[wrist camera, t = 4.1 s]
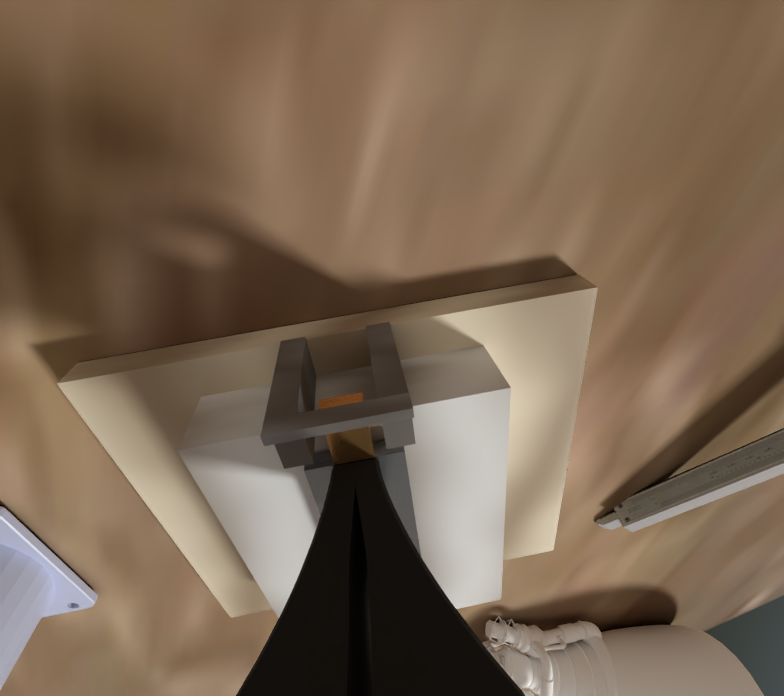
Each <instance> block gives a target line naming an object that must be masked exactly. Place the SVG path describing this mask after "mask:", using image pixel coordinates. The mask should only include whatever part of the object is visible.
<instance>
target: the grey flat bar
mask: <svg viewBox="0 0 784 696" xmlns="http://www.w3.org/2000/svg"><path fill="white" fill-rule="evenodd" d="M361 401H364V399H363V394H362V392H360V393H355V394H350V395H344V396H339V397H334V398H328V399H323V400H319V409H324V408H329V407H334V406H340V405H345V404H350V403H356V402H361ZM325 436H326V439H327V442H328V446H329V449H330V451H325V452H320V453H315V454H314V463H313V464H308V465H304V473H305V475H306V478H307V481H308V483H309V486H310V489H311V491H312V494H313V497H314V499H315V502H316V505H317V507H318V510H319V513H320V515H321V513H322V509H323V506H324V502H325V499H326V495H327V491H328V487H329V482H330V478H331V472H332V469H333V468H334V467H335V466H340V465H346V464H351V463H356V462H361V461H366V460H371V459H376V460H378V461H379V463H380V468H381V473H382V477H383V480H384V483H385V486H386V488H387V491H388V493H389V496H390V498H391V501H392V503H393V505H394V507H395V509H396V511H397V513H398V515H399V517H400V519H401V522H402V524H403V526H404V527H405V529H406V531H407V533H408V535H409V537H410V538H411V540H412V542H413V544H414V545H415V547H416V549H417V551H418V552H419V554H420V556H421V552H420V545H419V539H418V533H417V526H416V520H415V513H414V507H413V500H412V494H411V488H410V481H409V475H408V468H407V462H406V456H405V450H404V446H401V447H396V448H391V449H387V448H386V442H385V440H382V441H377V442H373V440H372V436H371V431H370V427H369V426H368V427H363V428H358V429H352V430H347V431H342V432H337V433H331V434H326V435H325Z"/></svg>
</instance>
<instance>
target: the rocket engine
mask: <svg viewBox="0 0 784 696" xmlns="http://www.w3.org/2000/svg"><path fill="white" fill-rule="evenodd" d="M498 618H499V619H500V622H499V623H497V622H496V620H497V619H498ZM497 619H496V620H495V622H494V621H491V620H489V621H488V622H487V623H486V627H485V632H486V636H487V637H489V639H490V641H491V640H492V638H496V639H497V640H498V643H497V642H496V641H494V640H492V641H494V642H496V643H491V642H489V641H484V642H483V643H482V644H483V645H484V646H485V647H486V649H487V650H488V651H489V652H490V654H491V655H492V656H493V657H494V658H495V660H496V661H497V662H498V663H499V664H500V666H501V667H502V668H503V669H504V670H505V672H506V673H507V674H508V675H509V676H510V677H511V679H512V680H513V681H514V682H515V683H516V684H517V685H518V687H519V688H525V687H527V688H530V689H531V690H532V691H533V692H534V693H536V694H537V695H538V696H763V693H762V692H761V690H760V689H759V687H758V686H757V684H756V682H755V681H754V679H753V678H752V676H751V675H750V673H749V672H748V671H747V669H746V668H745V667H744V666H743V665H742V663H741V662H740V661H739V660H738V658H736V656H735V655H734V654H733V653H732V652H730V651H729V650H728V649H727V648H726V647H725V646H724V645H723V644H722V643H721V642H719V641H718V640H716V639H715V638H713V637H712V636H710V635H709V634H707V633H705V632H702V631H700V630H698V629H695V628H692V627H687V626H681V625H649V626H638V627H628V628H621V629H615V630H609V631H604V632H601V631H600V630H599V628H598V627H597V626H596V625H595V624H593V623H591V622H587V621H580V620H578V621H577V622H576V623H573V624H572V623H568V624H563V625H558V626H557V628H555V629H551V630H546V631H542V630H541V629H539V628H538V627H537V626H536V625H532V626H526V625H524V624H518V623H516V624H515V623H514V622H513V620H512V619H511V620H512V624H513V623H514V624H513V625H512V626H513V627H511V626H509V624H510V622H511V620H508V621H510V622H509V624H508V626H507V624H506V622H507V621H504V620H501V618H500V616H498V617H497ZM491 637H492V638H491ZM506 642H510V644H511V643H512V644H511V647H512V648H513V647H514V648H517V649H518V650H519V651H517V650H513V649H509V648H508V647H503V648H501V649H499V650H498V651H495V649H494V647H493V646H495V647H497V646H500V645H501V644H502V645H503V644H506ZM556 643H560V644H559V645H551V644H556ZM506 645H508V644H506ZM512 645H513V646H512ZM548 645H551V646H548ZM509 646H510V645H509ZM525 652H526V653H527V654H529V655H530V656H528V655H526V654H525ZM522 691H523V693H524V694H525V696H535V695H534V694H533V693H531V692H530V691H529V690H528V689H523V690H522Z"/></svg>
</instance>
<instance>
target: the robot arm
mask: <svg viewBox="0 0 784 696" xmlns="http://www.w3.org/2000/svg"><path fill="white" fill-rule="evenodd" d="M97 598H98V596H97V594H96V593H95V592H94V591H93V590H92V589H91V588H90V587H89V586H88V585H87V584H85V583H84V582H83V581H82V580H81V579H80V578H79V577H78V576H77V575H76V574H75V573H74V572H73V571H72V570H71V569H70V568H68V567H67V566H66V565H65V564H64V563H63V562H62V561H61V560H60V559H59V558H58V557H57V556H56V555H55V554H54V553H52V552H51V551H50V550H49V549H48V548H47V547H46V546H45V545H44V544H43V543H42V542H41V541H40V540H39V539H38V538H37V537H35V536H34V535H33V534H32V533H31V532H30V531H29V530H28V529H27V528H26V527H25V526H24V525H23V524H22V523H21V522H20V521H18V520H17V519H16V518H15V517H14V516H13V515H12V514H11V513H10V512H9V511H8V510H7V509H5V508H4V507H2V506H0V690H1V688H2V686H3V685H4V683H5V681H6V679H7V677H8V676H9V674H10V672H11V670H12V669H13V667H14V665H15V663H16V662H17V660H18V658H19V656H20V655H21V653H22V651H23V649H24V647H25V646H26V644H27V642H28V640H29V639H30V637H31V635H32V633H33V632H34V630H35V628H36V626H37V625H38V623H39V621H40V619H41V618H42V617H47V616H52V615H56V614H61V613H66V612H71V611H76V610H81V609H86V608H90V607H92V606H93V605H95V602H96V600H97ZM236 696H525V694H524V693H523V691H522V690H521V689H520V688H519V687H518V685H517V684H516V683H515V682H514V681H513V680H512V679H511V677H510V676H509V675H508V674H507V673H506V672H505V670H504V669H503V668H502V667H501V666H500V664H499V663H498V662H497V661H496V660H495V658H494V657H493V656H492V655H491V654H490V652H489V651H488V650H487V649H486V647H485V646H484V645H483V644H482V642H481V641H480V640H479V639H478V637H477V636H476V635H475V634H474V632H473V631H472V630H471V628H470V627H469V626H468V624H467V623H466V621H465V620H464V619H463V617H462V616H461V615H460V613H459V612H458V611H457V609H456V608H455V607H454V605H453V604H452V603H451V601H450V600H449V599H448V597H447V596H446V594H445V593H444V591H443V590H442V588H441V587H440V585H439V584H438V582H437V581H436V579H435V578H434V576H433V575H432V573H431V572H430V570H429V569H428V567H427V566H426V564H425V562H424V561H423V559H422V557H421V556H420V554H419V552H418V551H417V549H416V547H415V545H414V544H413V542H412V540H411V538H410V537H409V535H408V533H407V531H406V529H405V527H404V526H403V524H402V522H401V519H400V517H399V515H398V513H397V511H396V509H395V507H394V505H393V503H392V501H391V498H390V496H389V493H388V491H387V488H386V486H385V483H384V480H383V477H382V473H381V468H380V463H379V461H378V460H376V459H371V460H366V461H361V462H356V463H351V464H346V465H340V466H335V467H334V468H333V469H332V472H331V478H330V482H329V487H328V491H327V495H326V499H325V502H324V506H323V509H322V513H321V516H320V519H319V522H318V525H317V528H316V531H315V534H314V537H313V540H312V543H311V545H310V548H309V550H308V553H307V555H306V558H305V561H304V563H303V566H302V568H301V571H300V573H299V576H298V578H297V580H296V583H295V585H294V587H293V589H292V592H291V594H290V596H289V598H288V600H287V602H286V605H285V607H284V609H283V611H282V613H281V615H280V617H279V619H278V621H277V623H276V625H275V627H274V629H273V631H272V633H271V635H270V637H269V639H268V641H267V642H266V644H265V646H264V648H263V650H262V652H261V654H260V655H259V657H258V659H257V661H256V662H255V664H254V666H253V668H252V669H251V671H250V673H249V675H248V676H247V678H246V680H245V681H244V683H243V685H242V687H241V688H240V690H239V692H238V693H237V695H236Z"/></svg>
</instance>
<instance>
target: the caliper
mask: <svg viewBox="0 0 784 696" xmlns="http://www.w3.org/2000/svg"><path fill="white" fill-rule="evenodd" d="M783 473H784V428H783V429H781V430H779V431H776V432H774V433H772V434H770V435H767V436H765V437H763V438H761V439H758V440H756V441H754V442H751V443H749V444H747V445H745V446H742V447H740V448H738V449H736V450H733V451H731V452H729V453H726V454H724V455H722V456H719V457H717V458H715V459H713V460H710V461H708V462H706V463H703V464H701V465H699V466H696V467H694V468H692V469H689V470H687V471H685V472H682V473H680V474H678V475H675V476H673V477H671V478H668V479H666V480H664V481H662V482H659V483H657V484H655V485H652V486H650V487H648V488H645V489H643V490H641V491H638V492H636V493H635V494H633V495H632V496H631V497H629V498H628V499H626V500H625V501H623V502H622V503H620V504H619V505H618V506H616V507H615V508H614V510H615V512H613V513H611V514H608V515H606V516H603V517H601V518H599V519H597V520H596V523H597V524H598V525H600V526H601V527H603V528H605V529H610V530H613V529H616V528H618V527H621V526H623V527H624V528H626V529H628V530H629V531H631V532H634V531H636V530H639V529H642V528H644V527H647V526H649V525H652V524H655V523H657V522H660V521H662V520H665V519H668V518H670V517H673V516H675V515H678V514H681V513H683V512H686V511H688V510H691V509H694V508H696V507H699V506H701V505H704V504H707V503H709V502H712V501H714V500H717V499H719V498H722V497H725V496H727V495H730V494H732V493H735V492H737V491H740V490H742V489H745V488H748V487H750V486H753V485H755V484H758V483H760V482H763V481H766V480H768V479H771V478H773V477H776V476H778V475H781V474H783Z"/></svg>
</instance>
